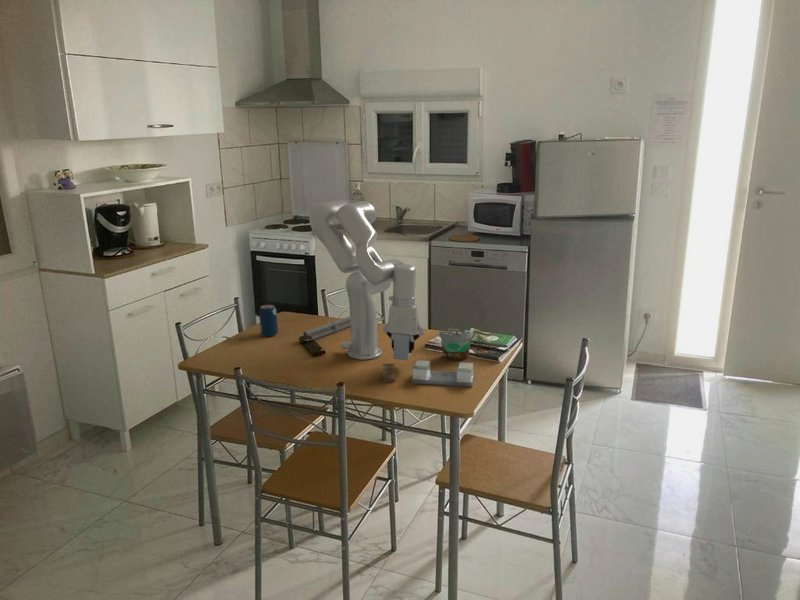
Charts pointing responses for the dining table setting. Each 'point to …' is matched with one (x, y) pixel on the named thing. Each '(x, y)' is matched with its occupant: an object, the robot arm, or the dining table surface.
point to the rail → (443, 375)
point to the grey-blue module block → (401, 346)
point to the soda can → (268, 320)
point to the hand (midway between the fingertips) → (402, 350)
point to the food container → (456, 344)
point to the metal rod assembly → (332, 325)
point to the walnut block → (388, 372)
